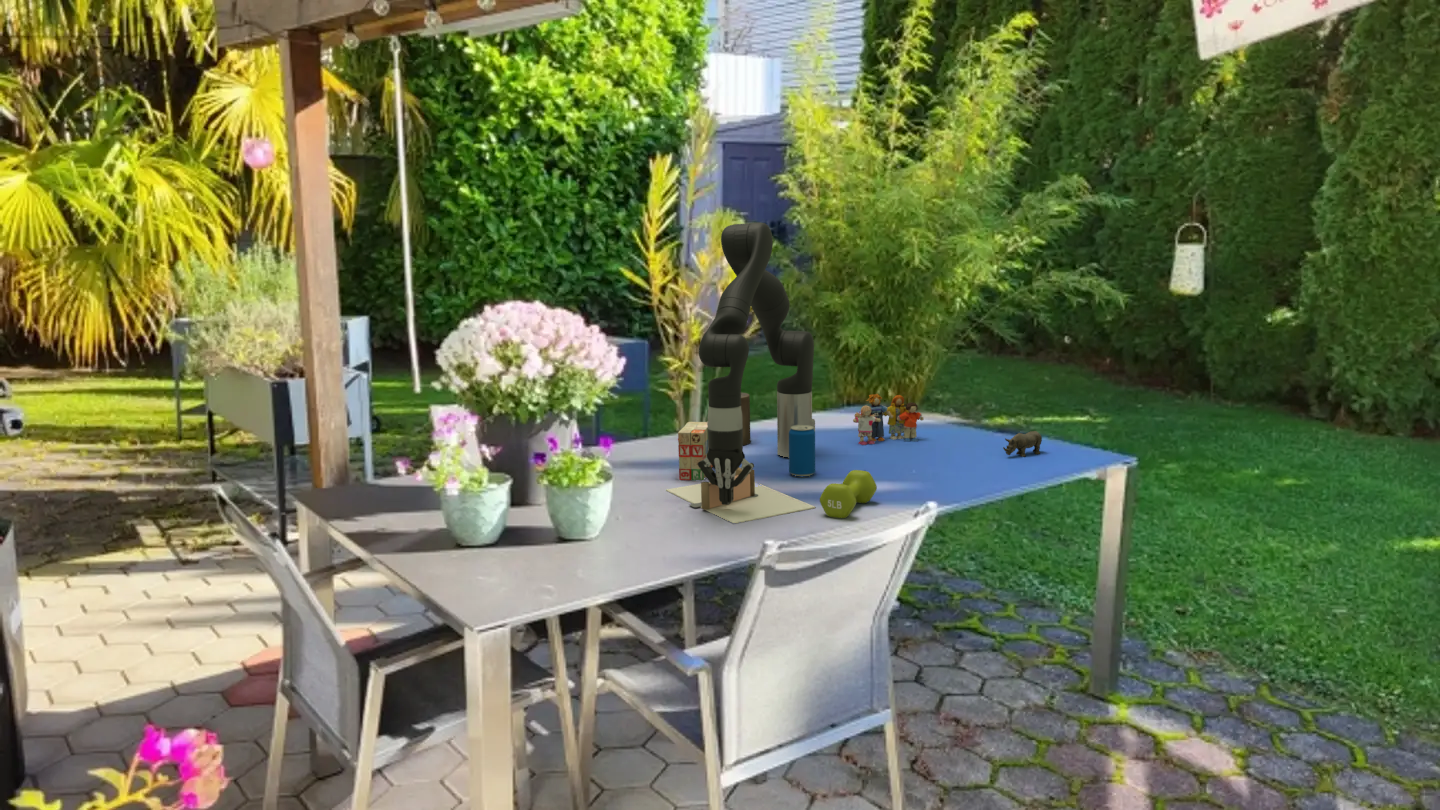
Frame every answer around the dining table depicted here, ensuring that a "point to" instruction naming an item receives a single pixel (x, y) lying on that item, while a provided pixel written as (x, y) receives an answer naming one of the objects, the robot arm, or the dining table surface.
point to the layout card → (746, 504)
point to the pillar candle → (745, 417)
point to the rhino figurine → (1024, 443)
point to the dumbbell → (848, 494)
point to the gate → (712, 493)
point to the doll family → (898, 420)
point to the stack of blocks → (692, 450)
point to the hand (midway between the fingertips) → (726, 503)
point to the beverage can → (802, 450)
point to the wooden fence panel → (752, 480)
